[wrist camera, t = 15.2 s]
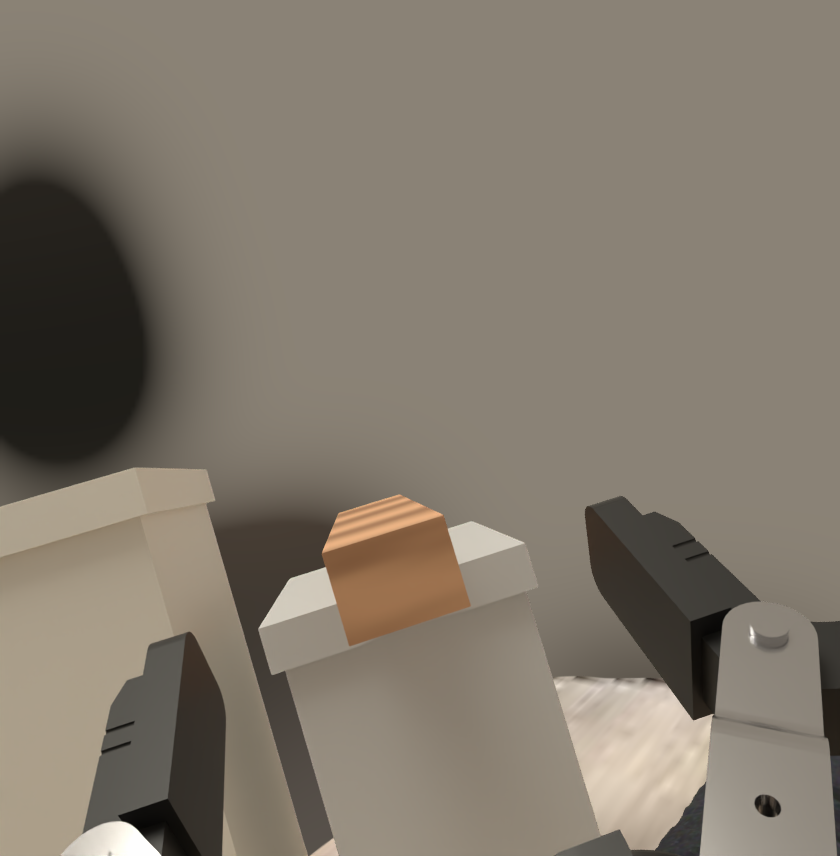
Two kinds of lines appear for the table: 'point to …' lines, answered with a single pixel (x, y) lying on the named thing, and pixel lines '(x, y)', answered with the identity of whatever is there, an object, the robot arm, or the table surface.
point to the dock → (436, 718)
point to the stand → (119, 652)
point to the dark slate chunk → (689, 828)
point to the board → (392, 568)
